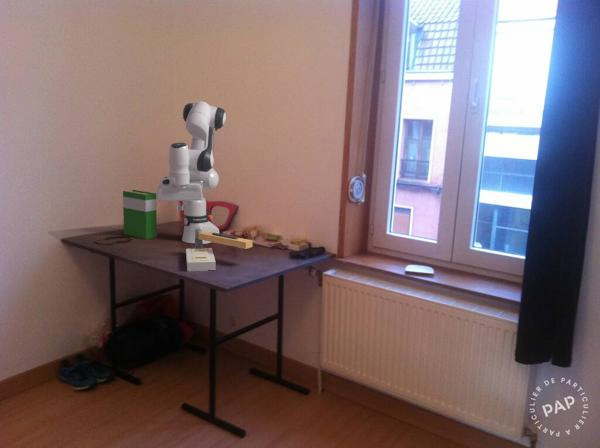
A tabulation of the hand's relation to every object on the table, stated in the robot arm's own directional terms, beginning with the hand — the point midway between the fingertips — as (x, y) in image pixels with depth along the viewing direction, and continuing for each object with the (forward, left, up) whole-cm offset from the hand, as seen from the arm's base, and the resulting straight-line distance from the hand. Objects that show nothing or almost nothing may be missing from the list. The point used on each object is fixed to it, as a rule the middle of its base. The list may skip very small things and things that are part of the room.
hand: (180, 210), depth 236 cm
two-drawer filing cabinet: (-6, +7, -24) cm, 25 cm away
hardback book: (-5, -56, -24) cm, 61 cm away
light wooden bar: (-17, +10, -15) cm, 24 cm away
